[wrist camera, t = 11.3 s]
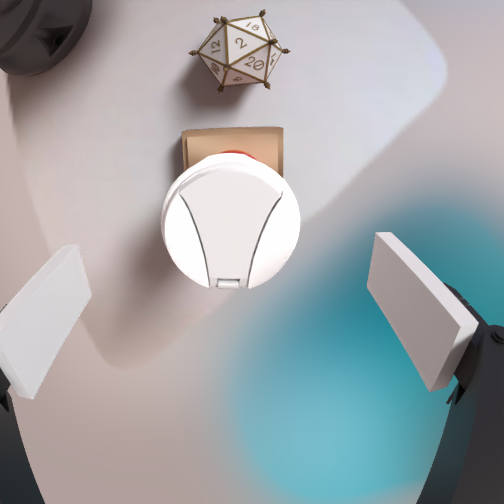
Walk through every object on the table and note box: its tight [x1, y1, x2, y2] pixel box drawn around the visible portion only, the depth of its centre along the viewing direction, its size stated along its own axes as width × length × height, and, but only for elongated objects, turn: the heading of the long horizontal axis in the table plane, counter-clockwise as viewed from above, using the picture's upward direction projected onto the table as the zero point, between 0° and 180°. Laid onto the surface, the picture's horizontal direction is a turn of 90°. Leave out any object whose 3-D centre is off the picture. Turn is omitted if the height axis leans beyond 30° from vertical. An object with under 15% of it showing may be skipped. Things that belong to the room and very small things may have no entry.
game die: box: [188, 9, 291, 94], centre depth 25 cm, size 9×8×10 cm
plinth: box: [182, 127, 283, 178], centre depth 32 cm, size 10×10×4 cm
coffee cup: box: [160, 150, 300, 289], centre depth 24 cm, size 8×8×15 cm
